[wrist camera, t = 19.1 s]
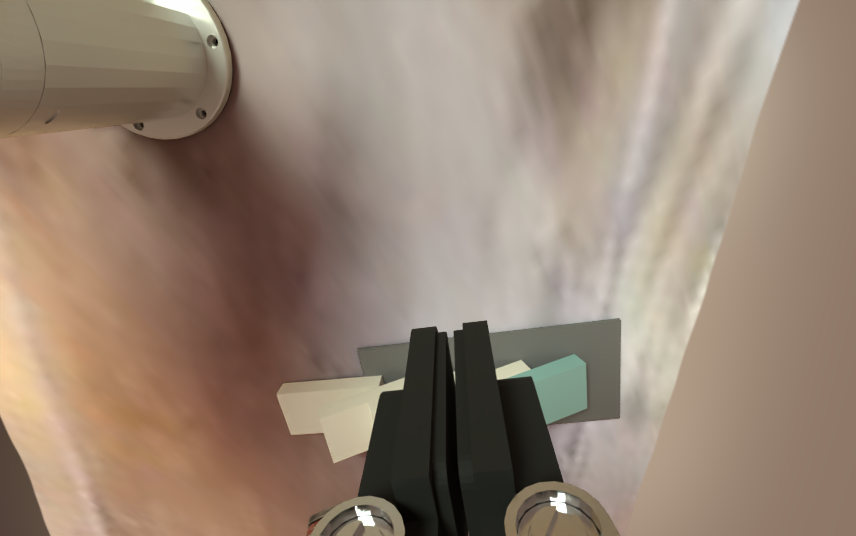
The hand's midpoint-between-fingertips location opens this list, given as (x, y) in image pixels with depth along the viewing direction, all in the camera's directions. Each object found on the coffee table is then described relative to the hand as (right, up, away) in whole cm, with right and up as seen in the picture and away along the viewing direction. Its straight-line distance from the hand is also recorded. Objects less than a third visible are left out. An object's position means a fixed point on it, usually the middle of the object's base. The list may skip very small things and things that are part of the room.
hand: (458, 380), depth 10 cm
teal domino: (+15, -9, +33) cm, 37 cm away
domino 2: (0, -11, +35) cm, 36 cm away
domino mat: (+6, -10, +35) cm, 37 cm away
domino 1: (-5, -12, +35) cm, 37 cm away
